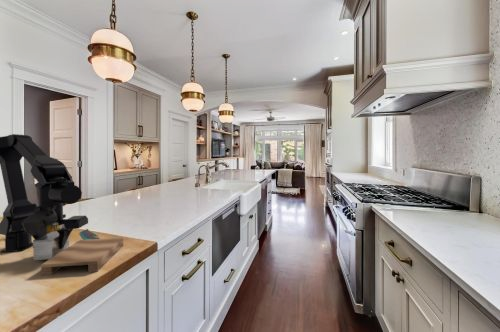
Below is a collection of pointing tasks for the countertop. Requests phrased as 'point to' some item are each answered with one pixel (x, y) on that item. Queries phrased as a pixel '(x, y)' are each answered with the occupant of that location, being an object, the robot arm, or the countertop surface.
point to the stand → (84, 255)
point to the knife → (88, 235)
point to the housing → (48, 246)
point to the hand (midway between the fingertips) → (52, 249)
